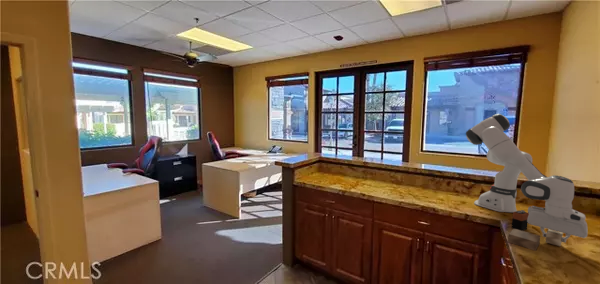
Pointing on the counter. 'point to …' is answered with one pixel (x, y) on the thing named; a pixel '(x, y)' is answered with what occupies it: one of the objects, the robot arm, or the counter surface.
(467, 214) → the counter surface
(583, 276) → the counter surface
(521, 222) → the battery
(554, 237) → the maple cube
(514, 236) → the walnut block
